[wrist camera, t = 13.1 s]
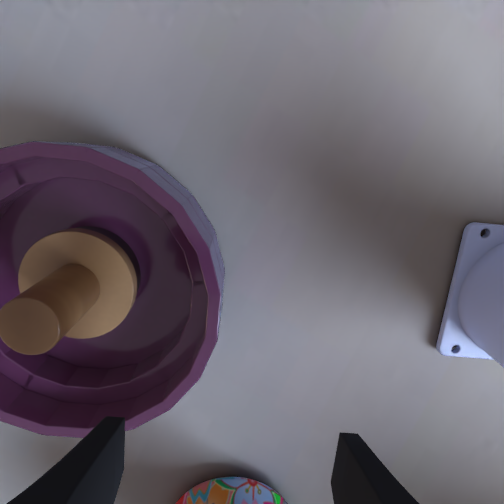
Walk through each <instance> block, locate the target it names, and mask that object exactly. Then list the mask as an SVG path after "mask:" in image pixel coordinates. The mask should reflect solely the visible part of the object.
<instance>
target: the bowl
mask: <svg viewBox="0 0 504 504" xmlns="http://www.w3.org/2000/svg"><path fill="white" fill-rule="evenodd" d="M85 226H90V227H98V228H102V229H105V230H108V231H110V232H112V233H114V234H116V235H117V236H119V237H120V238H121V239H123V240H124V241H125V242H126V243H127V244H128V245H129V246H130V248H131V249H132V250H133V252H134V254H135V255H136V258H137V260H138V263H139V266H140V273H141V279H140V286H139V289H138V292H137V295H136V299H135V302H134V304H133V306H132V308H131V310H130V311H129V313H128V314H127V316H126V317H125V319H124V320H123V321H122V322H121V323H120V324H119V325H118V326H117V327H116V328H114V329H113V330H111V331H110V332H108V333H106V334H104V335H101V336H98V337H93V338H85V339H78V338H70V337H66V336H64V337H63V338H62V339H61V340H60V341H59V342H58V343H57V344H56V345H55V346H54V347H53V348H52V349H51V350H49V351H47V352H45V353H42V354H38V355H26V354H22V353H19V352H16V351H15V350H13V349H11V348H10V347H9V346H7V345H6V344H5V343H4V342H3V340H2V339H1V337H0V421H2V422H5V423H8V424H11V425H14V426H17V427H20V428H23V429H26V430H29V431H32V432H35V433H38V434H41V435H48V436H62V437H77V438H84V437H85V436H86V435H87V434H88V433H89V432H90V431H91V430H92V429H93V428H94V427H95V426H96V425H97V424H98V423H99V422H100V421H101V420H102V419H103V418H105V417H106V416H113V417H125V431H128V430H132V429H135V428H137V427H139V426H140V425H142V424H144V423H146V422H148V421H150V420H152V419H154V418H155V417H157V416H159V415H161V414H163V413H165V412H167V411H169V410H170V409H171V408H172V407H173V406H174V405H175V404H176V403H177V402H178V401H179V400H180V399H181V398H182V397H183V396H184V395H185V394H186V393H187V392H188V390H189V389H190V388H191V387H192V386H193V385H194V384H195V383H196V382H197V381H198V380H199V379H200V377H201V375H202V373H203V371H204V369H205V366H206V364H207V362H208V360H209V358H210V355H211V353H212V351H213V349H214V347H215V345H216V342H217V339H218V333H219V325H220V318H221V310H222V301H223V289H224V277H225V271H224V270H225V268H224V264H223V260H222V256H221V252H220V248H219V244H218V240H217V236H216V232H215V229H214V228H213V226H212V225H211V223H210V221H209V220H208V218H207V217H206V215H205V213H204V212H203V210H202V209H201V207H200V205H199V204H198V202H197V201H196V199H195V197H194V196H193V195H192V194H191V193H190V192H189V191H188V190H187V189H186V188H185V187H183V186H182V185H181V184H180V183H179V182H178V181H176V180H175V179H174V178H173V177H172V176H171V175H169V174H168V173H167V172H166V171H165V170H164V169H162V168H161V167H160V166H158V165H157V164H155V163H152V162H150V161H148V160H145V159H143V158H141V157H138V156H136V155H134V154H131V153H129V152H127V151H125V150H122V149H120V148H116V147H113V146H103V145H93V144H83V143H73V142H39V141H33V142H26V143H22V144H18V145H14V146H9V147H5V148H1V149H0V309H1V308H2V307H3V306H4V305H5V304H6V303H7V302H9V301H10V300H12V299H13V298H15V297H16V296H18V295H19V294H20V291H19V285H18V274H19V268H20V265H21V262H22V260H23V258H24V256H25V254H26V253H27V251H28V250H29V249H30V248H31V247H32V246H33V245H34V244H35V243H36V242H37V241H39V240H40V239H42V238H44V237H46V236H48V235H50V234H52V233H54V232H57V231H60V230H64V229H71V228H78V227H85Z"/></svg>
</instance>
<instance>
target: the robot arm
mask: <svg viewBox="0 0 504 504" xmlns="http://www.w3.org/2000/svg"><path fill="white" fill-rule="evenodd" d="M483 229H485V230H486V233H485V234H484V235H483V236H481V235H480V233H481V231H482V230H483ZM454 345H457V347H456V348H455V349H454V350H451V348H452V347H453V346H454ZM436 348H437V350H438V351H439V352H440V353H441V354H442V355H445V356H456V357H468V358H481V359H493V360H495V361H496V362H498V363H499V364H500V365H501V366H502V367H504V225H499V224H488V223H478V222H472V223H470V224H468V225H467V226H466V227H465V229H464V232H463V236H462V240H461V245H460V249H459V253H458V257H457V261H456V265H455V270H454V274H453V278H452V282H451V286H450V290H449V295H448V299H447V303H446V307H445V311H444V315H443V320H442V324H441V328H440V332H439V336H438V341H437V345H436ZM124 442H125V417H113V416H106V417H105V418H103V419H102V420H101V421H100V422H99V423H98V424H97V425H96V426H95V427H94V428H93V429H92V430H91V431H90V432H89V433H88V434H87V435H86V436H85V437H84V438H83V439H82V440H81V441H80V442H79V443H78V444H77V445H76V446H75V447H74V448H73V449H72V450H71V451H70V452H69V453H68V454H66V455H65V456H64V457H63V458H62V459H61V460H60V461H59V462H58V463H57V464H56V465H54V466H53V467H52V468H51V469H50V470H49V471H47V472H46V473H45V474H44V475H43V476H41V477H40V478H39V479H38V480H37V481H36V482H34V483H33V484H32V485H31V486H29V487H28V488H27V489H26V490H24V491H23V492H22V493H20V494H19V495H18V496H16V497H15V498H14V499H12V500H11V501H10V502H8V503H7V504H114V501H115V498H116V494H117V491H118V488H119V484H120V481H121V477H122V474H123V470H124ZM331 486H332V493H333V499H334V504H419V503H418V502H417V501H416V500H415V499H414V498H413V497H412V496H411V495H410V494H409V493H408V491H407V490H406V489H405V488H404V487H403V486H402V485H401V484H400V483H399V482H398V481H397V480H396V478H395V477H394V476H393V475H392V474H391V473H390V472H389V470H388V469H387V468H386V467H385V466H384V465H383V463H382V462H381V461H380V460H379V459H378V458H377V456H376V455H375V454H374V453H373V452H372V450H371V449H370V448H369V447H368V446H367V444H366V443H365V442H364V441H363V439H362V438H361V437H360V436H359V435H358V434H354V433H340V435H339V440H338V446H337V451H336V456H335V462H334V467H333V473H332V478H331Z"/></svg>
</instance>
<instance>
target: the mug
mask: <svg viewBox="0 0 504 504" xmlns="http://www.w3.org/2000/svg"><path fill="white" fill-rule="evenodd" d="M176 504H288V503H287V502H286V501H285V500H284V498H283V497H282V496H281V495H280V494H278V493H277V492H276V491H275V490H273V489H272V488H271V487H269V486H267V485H265V484H263V483H261V482H258V481H256V480H252V479H248V478H243V477H221V478H216V479H211V480H208V481H205V482H203V483H200V484H198V485H197V486H195V487H193V488H192V489H190V490H189V491H187V492H186V493H185V494H184V495H183V496H182V497H181V498H180V499H179V500H178V501H177V502H176Z"/></svg>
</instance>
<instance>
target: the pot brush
mask: <svg viewBox="0 0 504 504" xmlns="http://www.w3.org/2000/svg"><path fill="white" fill-rule="evenodd" d="M140 279H141V273H140V266H139V263H138V260H137V258H136V255H135V254H134V252H133V250H132V249H131V248H130V246H129V245H128V244H127V243H126V242H125V241H124V240H123V239H121V238H120V237H119V236H117V235H116V234H114V233H112V232H110V231H108V230H105V229H102V228H98V227H90V226H85V227H78V228H71V229H64V230H60V231H57V232H54V233H52V234H50V235H48V236H46V237H44V238H42V239H40V240H39V241H37V242H36V243H35V244H34V245H33V246H32V247H31V248H30V249H29V250H28V251H27V253H26V254H25V256H24V258H23V260H22V262H21V265H20V268H19V274H18V285H19V291H20V294H19V295H18V296H16V297H15V298H13V299H12V300H10V301H9V302H7V303H6V304H5V305H4V306H3V307H2V308H1V309H0V337H1V339H2V340H3V342H4V343H5V344H6V345H7V346H9V347H10V348H11V349H13V350H15V351H16V352H19V353H22V354H26V355H38V354H42V353H45V352H47V351H49V350H51V349H52V348H53V347H54V346H55V345H56V344H57V343H58V342H59V341H60V340H61V339H62V338H63V337H64V336H66V337H70V338H78V339H85V338H93V337H98V336H101V335H104V334H106V333H108V332H110V331H111V330H113V329H114V328H116V327H117V326H118V325H119V324H120V323H121V322H122V321H123V320H124V319H125V317H126V316H127V314H128V313H129V311H130V310H131V308H132V306H133V304H134V302H135V299H136V295H137V292H138V289H139V286H140Z"/></svg>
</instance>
